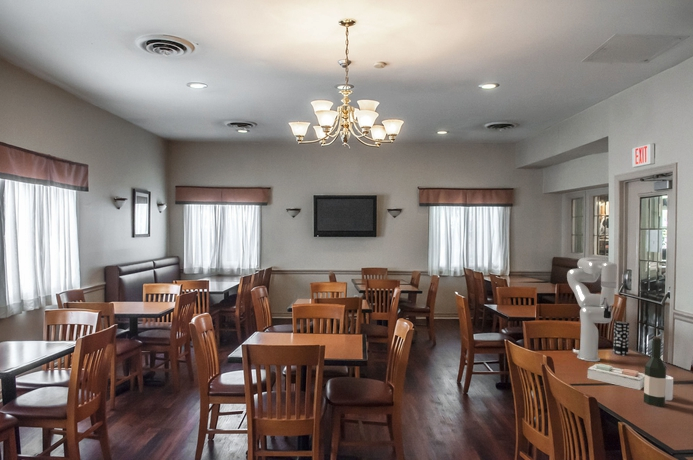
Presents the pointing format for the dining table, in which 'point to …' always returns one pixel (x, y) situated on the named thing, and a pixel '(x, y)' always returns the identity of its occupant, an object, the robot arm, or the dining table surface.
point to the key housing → (616, 377)
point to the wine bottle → (655, 376)
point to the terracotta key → (630, 372)
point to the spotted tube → (621, 338)
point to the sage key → (604, 367)
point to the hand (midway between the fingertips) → (607, 317)
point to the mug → (669, 388)
